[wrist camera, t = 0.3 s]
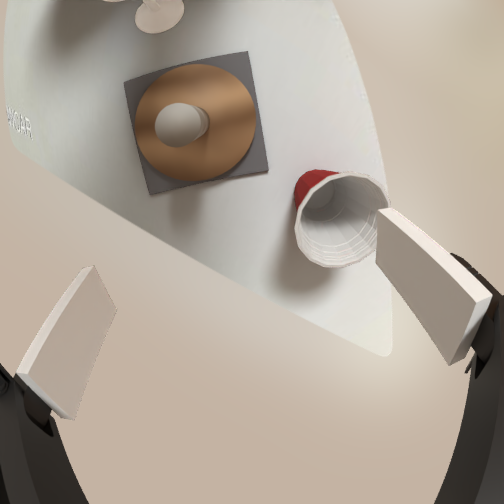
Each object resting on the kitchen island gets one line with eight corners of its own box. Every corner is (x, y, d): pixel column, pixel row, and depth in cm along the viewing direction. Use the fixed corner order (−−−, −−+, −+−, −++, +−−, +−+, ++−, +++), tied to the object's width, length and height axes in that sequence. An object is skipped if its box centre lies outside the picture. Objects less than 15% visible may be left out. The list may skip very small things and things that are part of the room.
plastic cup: (296, 239, 40) (317, 287, 30) (262, 174, 35) (275, 202, 25) (361, 207, 38) (402, 244, 28) (335, 140, 34) (377, 154, 23)
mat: (125, 82, 28) (123, 82, 27) (247, 52, 27) (247, 51, 27) (150, 193, 35) (149, 194, 35) (268, 169, 35) (268, 170, 35)
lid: (127, 84, 28) (87, 76, 18) (244, 55, 27) (249, 30, 18) (152, 190, 35) (123, 221, 25) (264, 167, 34) (277, 189, 25)
